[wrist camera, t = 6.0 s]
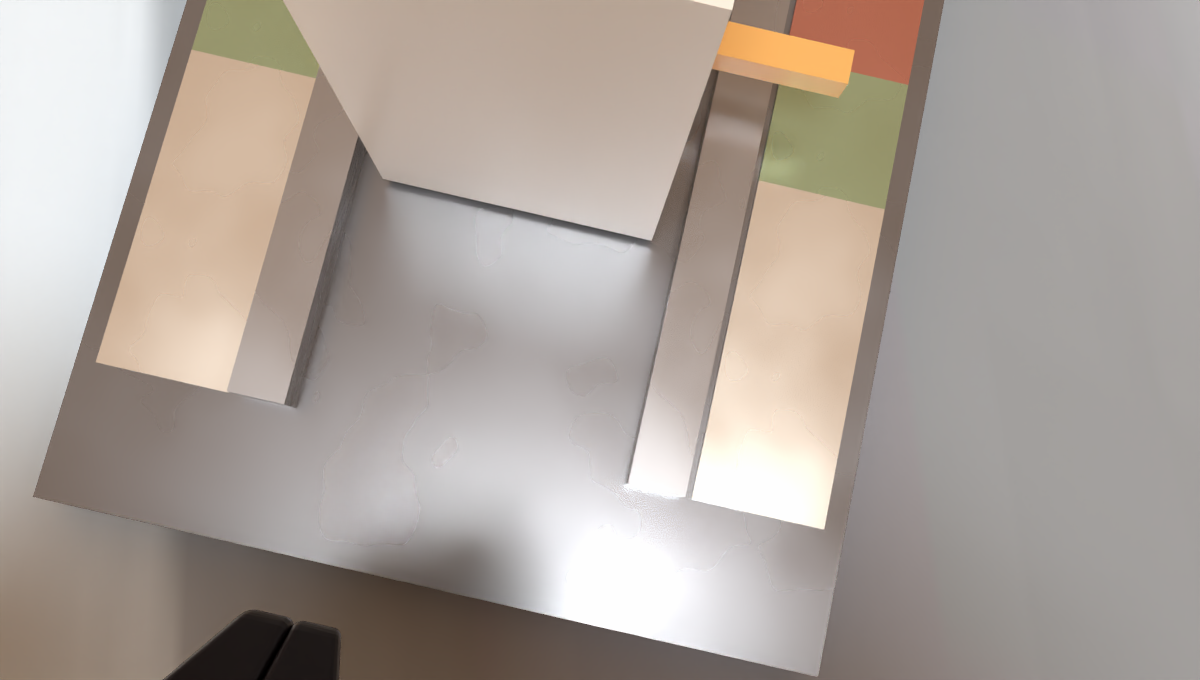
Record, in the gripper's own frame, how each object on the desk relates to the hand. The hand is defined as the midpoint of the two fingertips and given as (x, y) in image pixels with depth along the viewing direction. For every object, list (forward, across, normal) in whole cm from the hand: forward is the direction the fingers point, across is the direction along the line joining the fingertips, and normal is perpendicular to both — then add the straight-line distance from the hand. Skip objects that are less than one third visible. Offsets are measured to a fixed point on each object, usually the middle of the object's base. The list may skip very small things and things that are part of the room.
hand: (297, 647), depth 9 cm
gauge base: (+13, 0, +1) cm, 13 cm away
